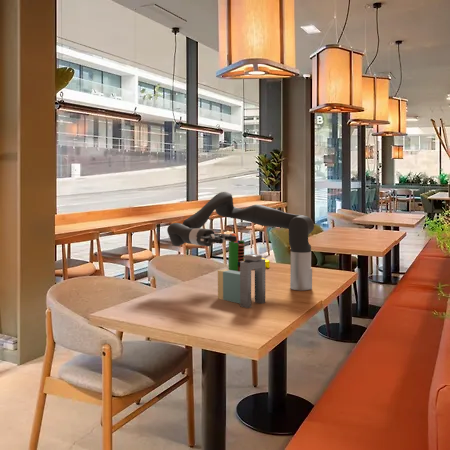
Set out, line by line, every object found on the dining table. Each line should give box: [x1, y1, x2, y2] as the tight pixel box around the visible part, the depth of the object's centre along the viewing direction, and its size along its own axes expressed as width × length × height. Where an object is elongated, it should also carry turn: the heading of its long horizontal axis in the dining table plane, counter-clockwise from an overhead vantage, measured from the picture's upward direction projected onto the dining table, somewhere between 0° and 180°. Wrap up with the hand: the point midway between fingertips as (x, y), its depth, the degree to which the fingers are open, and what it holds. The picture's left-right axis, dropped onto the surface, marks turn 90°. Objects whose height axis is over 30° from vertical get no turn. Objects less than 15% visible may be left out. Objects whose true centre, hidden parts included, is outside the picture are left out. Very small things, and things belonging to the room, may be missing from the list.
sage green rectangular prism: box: [217, 268, 240, 304], centre depth 210 cm, size 13×4×12 cm, turn 47°
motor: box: [227, 233, 245, 272], centre depth 274 cm, size 10×9×20 cm
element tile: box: [262, 257, 271, 269], centre depth 285 cm, size 15×15×5 cm
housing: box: [239, 253, 266, 309], centre depth 202 cm, size 7×11×20 cm, turn 137°
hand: (229, 239), depth 209 cm, fingers open, 8 cm apart
